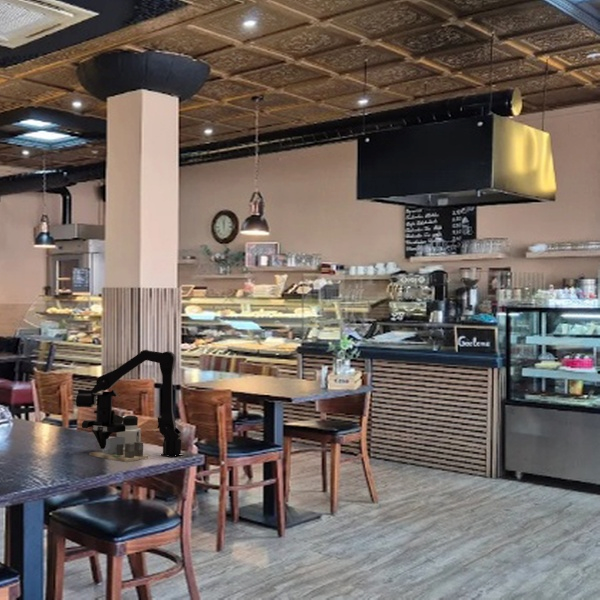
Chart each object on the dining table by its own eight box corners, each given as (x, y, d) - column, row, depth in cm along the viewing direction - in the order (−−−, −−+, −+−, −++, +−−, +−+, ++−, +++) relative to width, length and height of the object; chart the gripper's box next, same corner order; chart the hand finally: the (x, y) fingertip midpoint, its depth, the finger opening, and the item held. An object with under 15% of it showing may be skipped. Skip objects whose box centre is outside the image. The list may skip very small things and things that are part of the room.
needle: (122, 455, 292) (123, 444, 292) (119, 455, 291) (119, 444, 291) (119, 454, 293) (120, 443, 293) (116, 455, 292) (116, 444, 292)
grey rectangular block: (135, 453, 299) (135, 439, 299) (116, 456, 291) (116, 441, 292) (120, 451, 304) (121, 436, 304) (101, 454, 296) (102, 439, 296)
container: (140, 447, 322) (141, 415, 323) (134, 450, 315) (136, 417, 315) (122, 446, 323) (123, 414, 323) (115, 449, 315) (117, 416, 316)
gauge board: (148, 458, 298) (148, 442, 298) (126, 461, 289) (126, 445, 289) (111, 451, 309) (112, 436, 309) (89, 455, 300) (90, 439, 300)
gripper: (136, 408, 306) (135, 449, 305) (104, 404, 316) (102, 443, 316) (114, 410, 297) (113, 452, 296) (81, 406, 307) (80, 446, 307)
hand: (102, 448), depth 304 cm, fingers closed
